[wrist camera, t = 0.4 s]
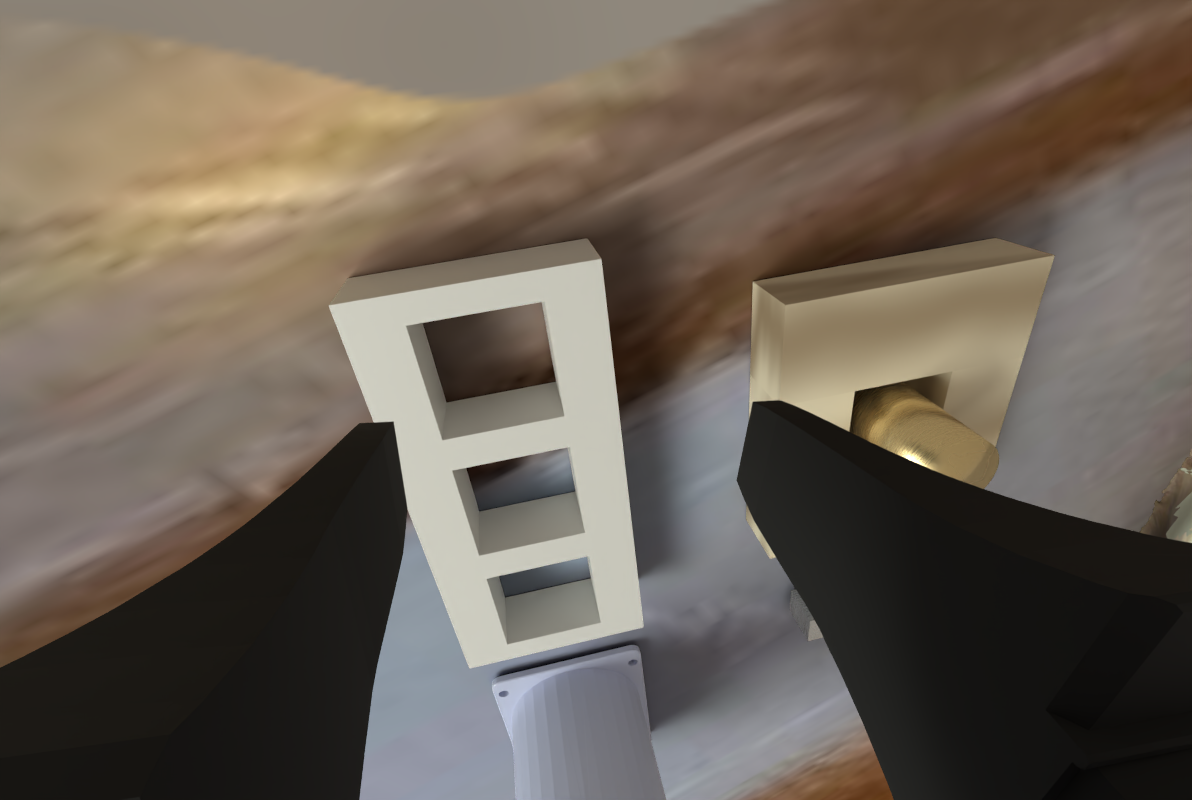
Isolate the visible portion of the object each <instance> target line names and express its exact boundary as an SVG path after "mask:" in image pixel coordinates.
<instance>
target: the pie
mask: <svg viewBox="0 0 1192 800" xmlns="http://www.w3.org/2000/svg"><path fill="white" fill-rule="evenodd" d="M1191 457H1192V449H1191V451H1190V457H1187V458H1186V459H1185V461H1184V462H1183V464H1182V468H1180V469H1178V471H1177V473H1176V474H1175V476H1174V477H1173V478H1172V480H1171V481H1170V484H1169V485H1168V487H1167V488H1166V489H1164V490H1163V491H1162V493H1164V494H1165V495H1164V496H1163V497H1162V501H1160V502H1158V501H1157V500H1156V501H1155V507H1154V509H1153V514H1152V515H1151V517H1150V518H1149V521H1148V522H1147V524H1146V525H1145V526H1144V527H1142V529H1141V531H1140V533H1143V534H1148V535H1152V536H1157V537H1162V538H1168V539H1173V540H1178V541H1184V542H1189V543H1192V458H1191ZM1190 458H1191V459H1190Z"/></svg>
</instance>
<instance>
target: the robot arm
mask: <svg viewBox="0 0 1192 800" xmlns="http://www.w3.org/2000/svg"><path fill="white" fill-rule="evenodd" d="M737 482H738V485H739V487H740V490H741V492H742V495H743V497H744V500H745V502H746V504H747V506H748V509H749V511H750V513H751V515H752V518H753V520H754V522H755V523H756V525H757V527H758V528H759V530H760V532H761V533H762V535H763V537H764V538H765V540H766V542H767V543H768V545H769V547H770V548H771V550H772V552H773V553H774V555H775V556H776V558H777V560H778V561H779V563H780V564H781V566H782V568H783V569H784V571H785V572H786V574H787V576H788V577H789V579H790V580H791V582H792V584H793V585H794V587H795V589H796V590H797V592H798V593H799V595H800V597H801V598H802V600H803V601H804V603H805V605H806V606H807V608H808V610H809V611H810V613H811V615H812V617H813V619H814V620H815V622H816V624H817V626H818V627H819V629H820V631H821V633H822V635H823V637H824V640H825V642H826V644H827V646H828V648H829V650H830V652H831V654H832V656H833V658H834V660H835V662H836V664H837V666H838V668H839V671H840V673H841V675H842V677H843V679H844V681H845V684H846V686H847V688H848V690H849V693H850V695H851V697H852V699H853V702H854V704H855V706H856V708H857V711H858V713H859V715H860V717H861V719H862V722H863V724H864V726H865V729H866V731H867V734H868V736H869V739H870V741H871V743H872V746H873V748H874V751H875V753H876V756H877V758H878V761H879V763H880V765H881V768H882V770H883V773H884V775H885V778H886V780H887V783H888V785H889V788H890V790H891V793H892V796H893V798H894V800H1192V543H1189V542H1184V541H1178V540H1173V539H1168V538H1162V537H1157V536H1152V535H1148V534H1143V533H1139V532H1135V531H1130V530H1126V529H1122V528H1118V527H1113V526H1109V525H1105V524H1101V523H1096V522H1092V521H1088V520H1085V519H1081V518H1077V517H1073V516H1069V515H1066V514H1062V513H1058V512H1055V511H1052V510H1048V509H1045V508H1041V507H1038V506H1035V505H1031V504H1028V503H1025V502H1021V501H1018V500H1015V499H1012V498H1008V497H1005V496H1002V495H999V494H996V493H993V492H990V491H987V490H985V489H982V488H979V487H976V486H974V485H971V484H968V483H966V482H963V481H960V480H957V479H955V478H952V477H949V476H947V475H944V474H942V473H939V472H937V471H934V470H932V469H929V468H927V467H925V466H922V465H920V464H918V463H915V462H913V461H911V460H909V459H906V458H904V457H902V456H899V455H897V454H895V453H893V452H891V451H888V450H886V449H884V448H882V447H880V446H878V445H876V444H873V443H871V442H869V441H867V440H865V439H863V438H861V437H859V436H857V435H855V434H853V433H851V432H849V431H847V430H845V429H843V428H841V427H839V426H837V425H835V424H833V423H831V422H828V421H826V420H824V419H822V418H820V417H818V416H816V415H814V414H812V413H810V412H808V411H806V410H803V409H801V408H799V407H797V406H794V405H792V404H789V403H787V402H784V401H781V400H773V401H755V402H753V403H752V408H751V413H750V418H749V423H748V427H747V432H746V437H745V442H744V447H743V452H742V457H741V462H740V467H739V472H738V477H737ZM406 517H407V502H406V496H405V489H404V483H403V477H402V471H401V464H400V458H399V452H398V446H397V439H396V433H395V427H394V421H393V422H375V423H359V424H358V425H357V426H356V427H355V428H354V429H352V430H351V431H350V432H349V433H348V434H347V435H346V436H345V437H344V438H343V439H342V440H341V441H340V442H339V443H338V444H337V445H336V446H335V447H334V448H333V449H332V450H330V451H329V452H328V453H327V454H326V455H325V456H324V457H323V458H322V459H321V460H320V461H319V462H318V463H317V464H316V465H314V466H313V467H312V468H311V469H310V470H309V471H308V472H307V473H306V474H305V475H304V476H302V477H301V478H300V479H299V480H298V481H297V482H296V483H295V484H294V485H292V486H291V487H290V488H289V489H288V490H286V491H285V492H284V493H283V494H281V495H280V496H279V497H278V498H277V499H275V500H274V501H273V502H272V503H271V504H269V505H268V506H267V507H266V508H265V509H263V510H262V511H261V512H260V513H259V514H257V515H256V516H255V517H254V518H252V519H251V520H250V521H249V522H247V523H246V524H245V525H243V526H242V527H241V528H239V529H238V530H237V531H235V532H234V533H233V534H231V535H230V536H228V537H227V538H226V539H224V540H223V541H221V542H220V543H218V544H217V545H216V546H214V547H213V548H211V549H210V550H208V551H207V552H205V553H204V554H203V555H201V556H200V557H198V558H197V559H195V560H194V561H192V562H191V563H189V564H188V565H186V566H184V567H183V568H181V569H180V570H178V571H176V572H175V573H173V574H171V575H170V576H168V577H166V578H165V579H163V580H161V581H160V582H158V583H156V584H155V585H153V586H151V587H150V588H148V589H146V590H145V591H143V592H141V593H140V594H138V595H136V596H135V597H133V598H132V599H130V600H128V601H127V602H125V603H123V604H122V605H120V606H118V607H116V608H115V609H113V610H111V611H109V612H108V613H106V614H104V615H102V616H100V617H98V618H96V619H95V620H93V621H91V622H89V623H87V624H85V625H83V626H82V627H80V628H78V629H76V630H74V631H72V632H71V633H69V634H67V635H65V636H63V637H61V638H59V639H57V640H55V641H53V642H51V643H49V644H47V645H45V646H43V647H41V648H39V649H37V650H35V651H33V652H31V653H29V654H27V655H25V656H24V657H22V658H19V659H17V660H15V661H13V662H11V663H9V664H7V665H5V666H3V667H1V668H0V800H359V797H360V788H361V779H362V771H363V762H364V753H365V745H366V737H367V729H368V721H369V714H370V706H371V698H372V690H373V685H374V679H375V674H376V669H377V663H378V659H379V655H380V650H381V646H382V642H383V638H384V633H385V629H386V625H387V621H388V616H389V612H390V608H391V604H392V599H393V595H394V591H395V587H396V582H397V578H398V574H399V569H400V565H401V560H402V556H403V548H404V539H405V529H406ZM492 690H493V693H494V696H495V699H496V701H497V704H498V707H499V710H500V712H501V715H502V718H503V721H504V723H505V726H506V729H507V731H508V734H509V737H510V740H511V742H512V745H513V754H514V775H515V796H516V800H666V797H665V793H664V789H663V785H662V781H661V777H660V774H659V770H658V766H657V762H656V758H655V754H654V750H653V747H652V743H651V732H650V724H649V716H648V708H647V699H646V691H645V683H644V675H643V667H642V659H641V653H640V649H639V647H638V646H636V645H628V646H624V647H620V648H616V649H611V650H607V651H603V652H599V653H595V654H591V655H586V656H582V657H578V658H574V659H570V660H566V661H561V662H557V663H553V664H549V665H545V666H541V667H536V668H532V669H528V670H524V671H520V672H516V673H511V674H507V675H503V676H499V677H497V678H495V679H494V680H493V682H492Z"/></svg>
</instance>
